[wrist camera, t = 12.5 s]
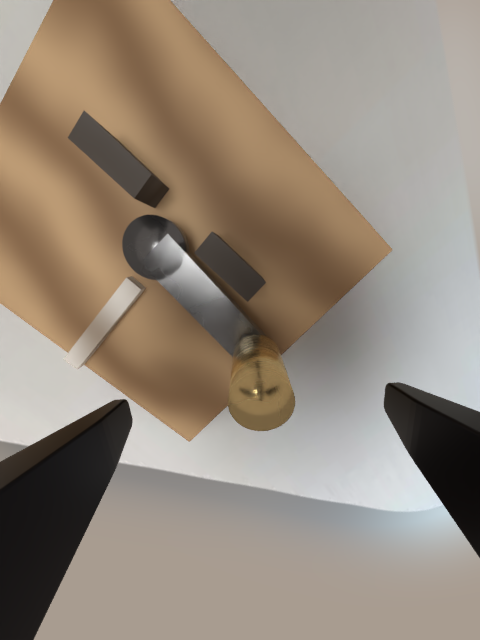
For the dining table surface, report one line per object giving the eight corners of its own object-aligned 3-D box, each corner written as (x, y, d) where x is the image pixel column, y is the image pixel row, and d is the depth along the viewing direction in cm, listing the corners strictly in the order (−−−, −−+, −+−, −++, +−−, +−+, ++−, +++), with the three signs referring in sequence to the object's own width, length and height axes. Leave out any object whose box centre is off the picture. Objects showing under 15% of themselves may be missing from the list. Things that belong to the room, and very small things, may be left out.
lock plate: (112, -47, 13) (47, -191, 9) (380, 249, 17) (425, 249, 13) (-48, 248, 18) (-143, 248, 13) (192, 429, 22) (180, 473, 17)
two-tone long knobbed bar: (119, 246, 15) (37, 243, 9) (158, 203, 14) (97, 170, 8) (250, 378, 17) (253, 445, 11) (289, 347, 17) (314, 402, 11)
